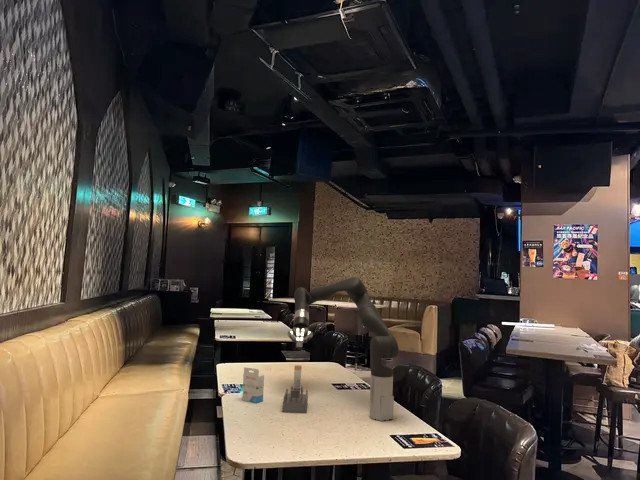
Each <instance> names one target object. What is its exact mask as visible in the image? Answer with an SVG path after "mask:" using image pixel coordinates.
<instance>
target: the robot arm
mask: <svg viewBox="0 0 640 480" xmlns="http://www.w3.org/2000/svg"><path fill="white" fill-rule="evenodd" d="M338 292H339V293H340V292H346V294H347V295H348V297H349V298H350V299H351V300H352V301H353V303H354V304H355V306H356V307H357V315H358V318H359V320H360V322H361V324H362V326H363V327H364V328H365V330H367V331H369V332H370V333H372V334H373V337H371V340H370V343H369V344H370V345H369V349H370V350H369V355H370V357H369V358H370V362H369V363H370V384H369V385H370V386H369V387H370V388H369V413H368V414H369V418H370V419H371V420H375V419H376V420H375V421H379V422H380V421H381V422H384V420H386V421H390V420H389V419H393V420H394V404H395V403H394V402H395V400H394V399H395V397H394V395H393V389H394V388H393V385H394V383H393V382H394V369H393V368H392V367H390V366H387V365H385V364H383V363H382V362H383V361H382V360H385V359H395V358H396V357H397V356H398V355H399V352H400V351H399V350H400V349H399V344H398V341H397V340H396V338H395V336H394V334H393V333H392V332H391V330H390V329H389V327H388V326H387V325H386V323H385V322H384V320H383V318H382V316H381V314H380V312H379V310H378V308H377V307H376V305H375V304H374V302H372V300H371V298H370V296H369V292H368V289H367V288H366V285H365V284H364V283H363V282H362V280H361V279H360V278H359V277H357V276H353V277H348V278H345V279H342V280H339V281H337V282H335V283H331V284H329V285H324V286H319V287H318V286H317V287H313V288H312V289H311V290H310V293H309V291H308V290H307V288H305V287H303V286H300V287H298V288H296V290H295V291H294V293H293V298H294V305H295V310H294V313H295V314H294V316H293V325H292V326H293V327H292V328H291V330H289V331H287V336H288V338H289V339H290V340H291V342H292V343H293V344H294V343H296V345H295V348H296V349H297V350H298V351H301V350H303V344H306V343H307V342H309V341H310V340H311V339H312V338H313V337H314V332H313V331H310V329H309V322H310V315H309V314H310V305H312V304H315V303H316V302H320V301H326V300H329V299H331V298H332V297H333V296H334V295H335V294H337V293H338ZM374 335H375V336H374Z"/></svg>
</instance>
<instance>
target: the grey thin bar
mask: <svg viewBox="0 0 640 480" xmlns="http://www.w3.org/2000/svg"><path fill="white" fill-rule="evenodd" d="M302 366H303V365H296V364H295V365H294V367H293V369H294V373H293V374H294V375H293V389H294V390H300V391H301V386H302V385H301V383H302Z"/></svg>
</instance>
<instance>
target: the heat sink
mask: <svg viewBox="0 0 640 480" xmlns="http://www.w3.org/2000/svg"><path fill="white" fill-rule="evenodd" d="M288 392H289V389H288V388H286V389H285V392H284V395H283V399H282V400H283V401H282V413H291V414H292V413H294V414H307V411H308V403H309V402H308V399H309V390H308V389H306V390H305V394H304V393H303V392H304V386H303V385H301V387H300V390H294V385H291V386H290V393H288Z"/></svg>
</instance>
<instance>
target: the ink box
mask: <svg viewBox="0 0 640 480" xmlns="http://www.w3.org/2000/svg"><path fill="white" fill-rule="evenodd" d="M264 385H265V374H263V373H260V370H259V369H258V368H252V367H243V375H242V394H241V395H242V397H241V400H242V401H244V402H250V403H255V404H258V403H261V402H264V387H265V386H264Z"/></svg>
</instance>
